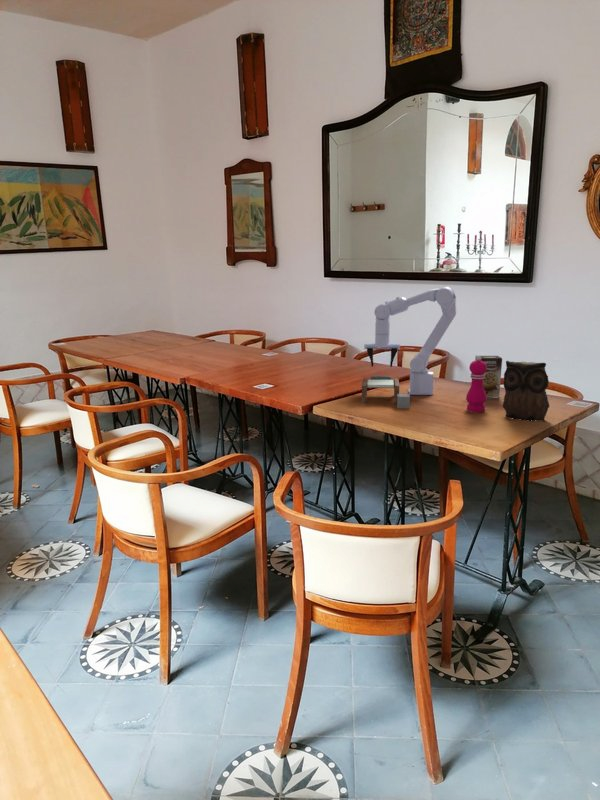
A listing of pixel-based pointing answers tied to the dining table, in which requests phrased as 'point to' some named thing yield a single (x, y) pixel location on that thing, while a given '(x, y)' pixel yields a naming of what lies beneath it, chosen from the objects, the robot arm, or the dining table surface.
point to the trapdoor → (381, 381)
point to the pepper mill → (477, 386)
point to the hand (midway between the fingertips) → (381, 366)
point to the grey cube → (403, 401)
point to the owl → (525, 390)
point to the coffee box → (492, 375)
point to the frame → (365, 386)
